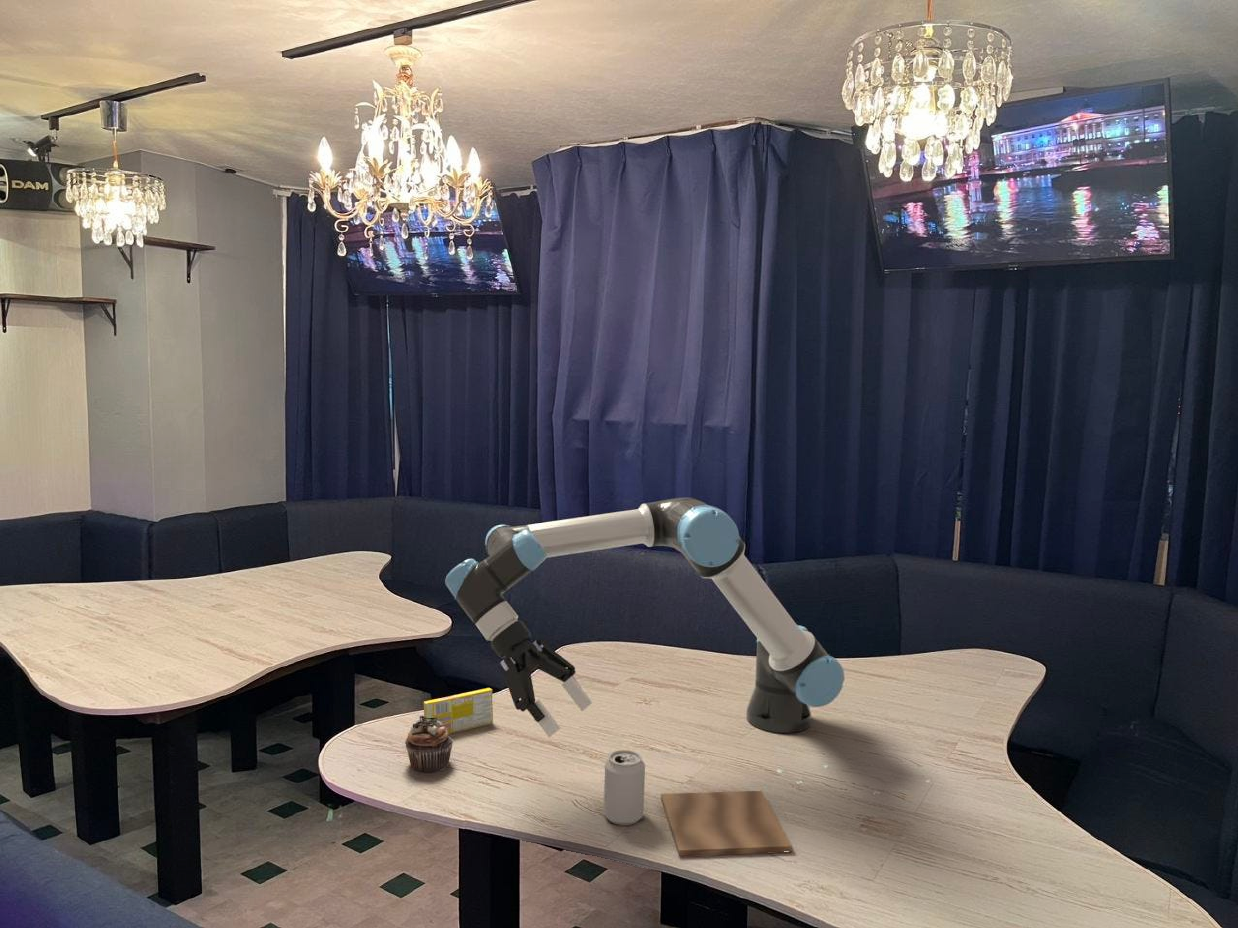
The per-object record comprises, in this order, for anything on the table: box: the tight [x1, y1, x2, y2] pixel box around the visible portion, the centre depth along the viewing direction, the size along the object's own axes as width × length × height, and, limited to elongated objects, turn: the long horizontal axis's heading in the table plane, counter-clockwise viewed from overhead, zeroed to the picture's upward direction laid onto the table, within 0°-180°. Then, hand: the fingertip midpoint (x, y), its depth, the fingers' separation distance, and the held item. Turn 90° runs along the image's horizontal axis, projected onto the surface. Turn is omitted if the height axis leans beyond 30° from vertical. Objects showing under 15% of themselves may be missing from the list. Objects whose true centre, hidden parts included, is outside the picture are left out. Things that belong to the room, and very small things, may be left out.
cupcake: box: [405, 715, 454, 774], centre depth 188 cm, size 10×10×10 cm
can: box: [603, 749, 646, 826], centre depth 169 cm, size 8×8×12 cm
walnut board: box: [660, 790, 793, 858], centre depth 167 cm, size 20×20×1 cm
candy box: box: [423, 687, 494, 735], centre depth 206 cm, size 16×2×8 cm, turn 123°
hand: (571, 719), depth 171 cm, fingers open, 13 cm apart
